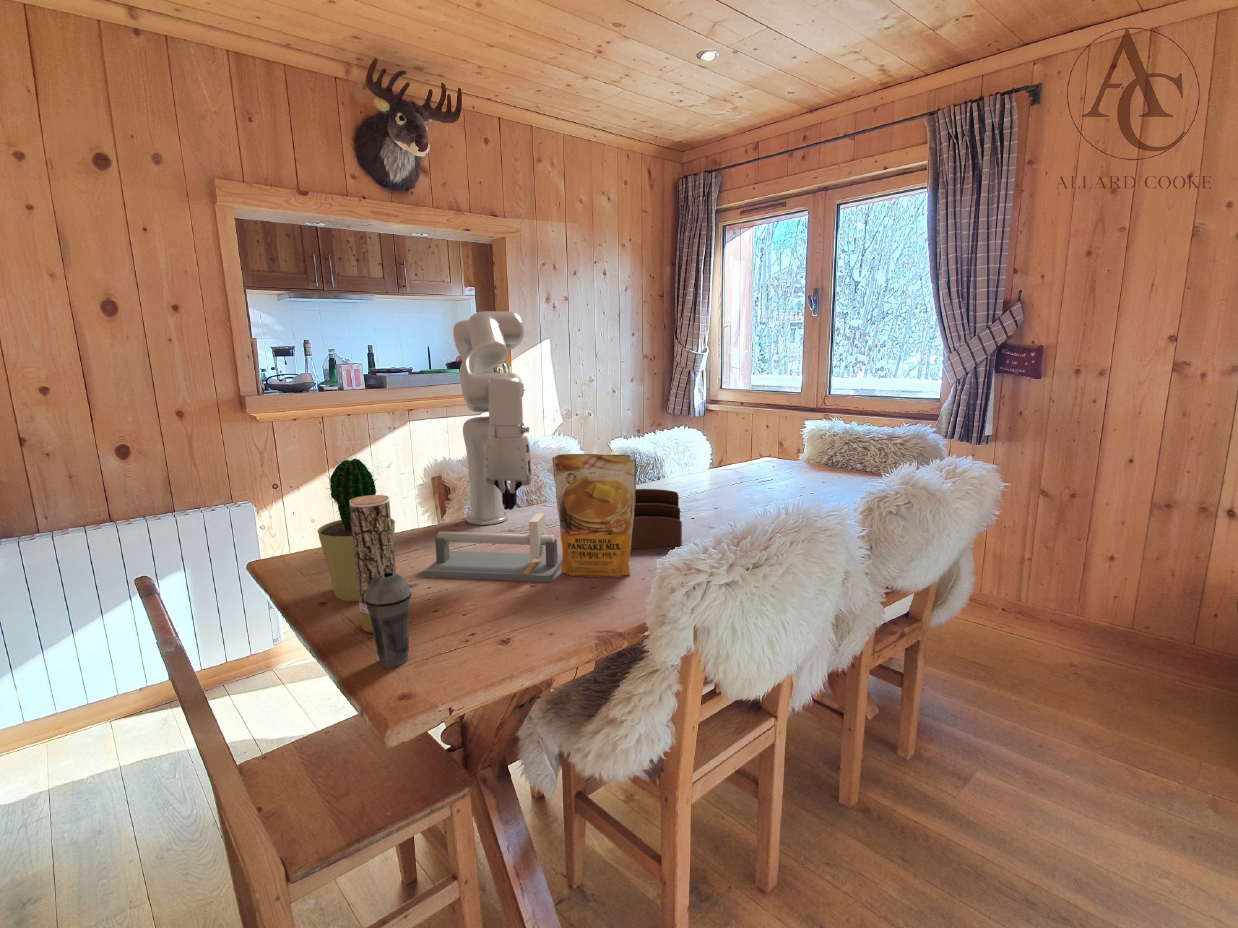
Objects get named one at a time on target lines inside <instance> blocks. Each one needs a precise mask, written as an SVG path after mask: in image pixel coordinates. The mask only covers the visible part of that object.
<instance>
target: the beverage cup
mask: <svg viewBox="0 0 1238 928" xmlns="http://www.w3.org/2000/svg"><path fill="white" fill-rule="evenodd" d="M375 552H376V556H377V561H378V565H379V570H380V575H378V576H377V577H375V578H374V579H373V580H372V581H371V582H370V584H369V586H368V588H367V592H366V599H365V603H366V604H367V609H368V612H369V613H370V617H371V622H372V628H373V638H374V642H375V648H376V652H377V656H378V660H379V665H380V666H381V667H383V668H397V667H400V666H402V665H404V664H405V663H407V662H408V660H409V651H410V650H409V647H410V646H409V645H410V642H409V641H410V640H409V639H410V635H409V634H410V633H409V632H410V630H409V629H410V627H409V626H410V619H409V618H410V606H411V597H412V591H411V589H410V586H409V584H408V582H407V580H406V579H405V578H404V577H402V575H400V574H399V573H396V574H395V573H383V568H382V564H381V559H380V555H379V550H376V551H375Z"/></svg>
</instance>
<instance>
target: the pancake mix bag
mask: <svg viewBox="0 0 1238 928" xmlns="http://www.w3.org/2000/svg"><path fill="white" fill-rule="evenodd" d="M551 459H552V468H553V480H554V485H555V486H554V487H555V498H556V499H555V501H556V507H557V515H558V519H559V529H560V531H559V532H560V541H561V549H562V554H561V555H562V566H561V568H560V573H562V574H564V573H565V574H567V575H568V576H570V577H582V578H583V577H584V578H607V579H608V578H609V579H610V578H611V579H614V578H615V579H616V578H617V579H619V578H620V579H621V578H622V577H623V576H628V575H629V576H630V575H631V569H630V565H629V561H630V556H631V555H630V554H631V550H632V549H631V539H632V529H633V520H634V508H635V502H636V489H637V488H636V487H637V473H638V472H637V471H638V469H637V468H638V467H637V461H636V458H631V455H629V454H597V453H564V454H557V455H555V456H553V457H552V458H551Z"/></svg>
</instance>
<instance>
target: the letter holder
mask: <svg viewBox="0 0 1238 928" xmlns="http://www.w3.org/2000/svg"><path fill="white" fill-rule="evenodd" d="M679 497H680V496H679V493H678V492H677V491H673V490H669V489H659V488H636V502H635V508H634V520H633V529H632V539H631V548H670V549H676V548H675V547H680V546H682V547H683V541H682V540H683V538H682V537H683V534H682V530H683V528H682V527H683V525H682V524H683V523H682V520H681V509H680V506H679V504H680V502H679V499H680V498H679Z"/></svg>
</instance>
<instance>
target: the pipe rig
mask: <svg viewBox="0 0 1238 928" xmlns="http://www.w3.org/2000/svg"><path fill="white" fill-rule="evenodd" d="M450 543H463V544H464V543H465V544H467V543H468V544H469V543H470V544H491V545H493V544H497V545H498V544H499V545H526V546H530V537H529V534H526V533H524V534H521V533H520V534H519V533H491V532H462V531H459V532H458V531H439V532H438V533H437V537H435V538H434V544H435V556H436V557H435V558H436V559H435V560H436V561H435V562H433V563H432V564H431V565H429V567H427V568H426V569H425V570H424V577H425V578H441V579H442V578H444V579H445V578H446V579H465V580H466V579H467V580H468V579H469V580H490V581H492V580H493V581H511V582H512V581H515V582H534V583H535V582H539V583H552V582H553V580H554V579H555V577H556V576H557V574H558V572H559V571H560V570H561V567H562V554H558V539H557V538H555V535H553V534H546V535H540V543H541V545H545V547H546V551H545V553H543V555H542V556H541V557H540V559H530V553H528V552H527V553H525V552H523V553H522V552H499V551H498V552H491V551H467V550H466V551H465V550H464V551H463V550H450V545H449V544H450Z"/></svg>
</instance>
